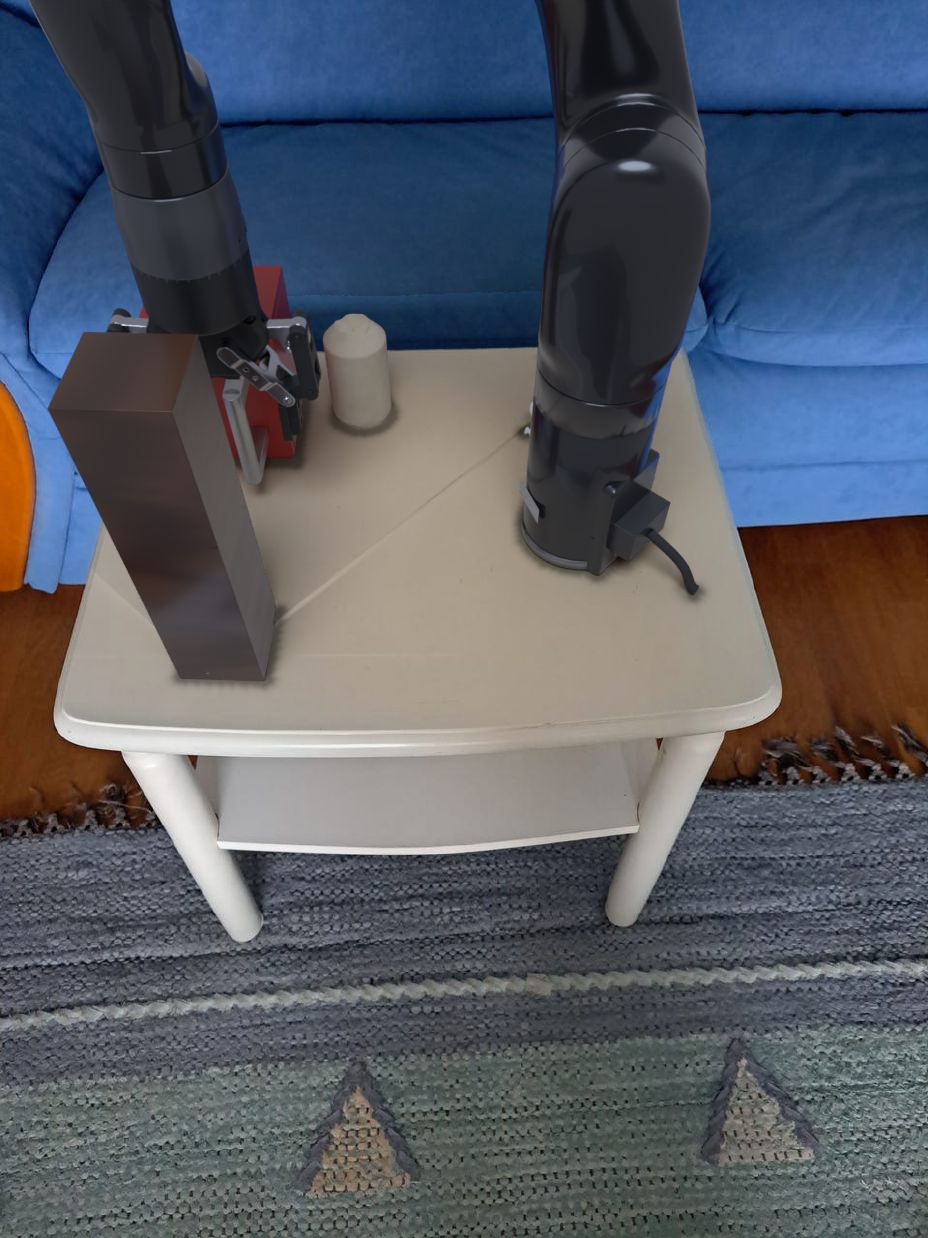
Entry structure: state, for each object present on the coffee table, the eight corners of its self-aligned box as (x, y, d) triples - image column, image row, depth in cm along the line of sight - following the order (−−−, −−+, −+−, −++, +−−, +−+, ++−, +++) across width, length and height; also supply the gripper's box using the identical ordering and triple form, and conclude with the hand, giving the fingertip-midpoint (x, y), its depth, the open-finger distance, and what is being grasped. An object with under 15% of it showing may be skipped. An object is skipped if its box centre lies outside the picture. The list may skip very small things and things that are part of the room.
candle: (383, 436, 81) (375, 346, 73) (327, 428, 81) (312, 338, 73) (398, 398, 84) (391, 308, 76) (343, 390, 85) (331, 300, 77)
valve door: (288, 509, 75) (259, 382, 64) (167, 510, 75) (116, 382, 64) (296, 455, 79) (270, 326, 68) (181, 456, 79) (135, 327, 68)
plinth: (277, 612, 69) (198, 333, 48) (264, 681, 65) (171, 411, 44) (197, 610, 69) (83, 330, 48) (179, 678, 65) (46, 408, 44)
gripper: (57, 273, 53) (135, 467, 66) (292, 276, 53) (323, 468, 66) (87, 207, 57) (155, 401, 70) (304, 210, 57) (331, 403, 71)
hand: (236, 433), depth 68 cm, fingers open, 8 cm apart
